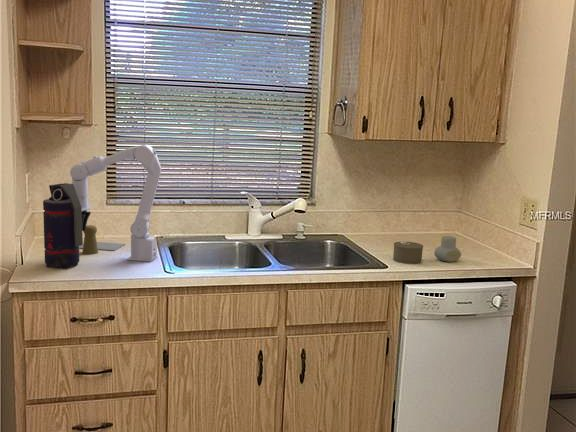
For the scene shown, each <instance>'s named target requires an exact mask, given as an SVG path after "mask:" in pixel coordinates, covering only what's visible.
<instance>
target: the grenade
mask: <svg viewBox="0 0 576 432" xmlns="http://www.w3.org/2000/svg"><path fill="white" fill-rule="evenodd" d="M48 187H49V192H50V197H49V198H47V199H44V200H42V208H43V211H42V212H43V244H44V246H43V247H44V249H45V250H44V264H45V266H46V268H49V267H58V268H59V269H60V270H67V269H68V267H70V266H74V265H76V266H77V265H78V264H79V263H80V249H79V246H81V245H83V244H84V237H83V231H82V208H81V204H80V202H79V199H78V197H77V194H76V190H75V187H74V184H72V183H69V182H64V183H57V184H49V185H48Z"/></svg>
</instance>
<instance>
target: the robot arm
mask: <svg viewBox="0 0 576 432" xmlns="http://www.w3.org/2000/svg"><path fill="white" fill-rule="evenodd" d="M124 160H131V161H133V160H136V161H137V162H138V163H140V164H141V165H142V166H143V167H144V168H145V170H146V171H147V175H146V179H145V183H144V187H143V190H142V194H141V198H140V201H139V206H138V210H137V213H136V216H135V218H134V219H135V220H134V222H133V223H132V224H131V226H130V232H131V234H130V256H129V257H128V258H127V261H138V262H139V261H140V262H152V261H154V260H155V259H156V258H158V256H157V252H158V251H157V249H158V248H157V243H158V242H157V241H158V240H157V237H154V236H151V234H150V232H149V230H150V229H151V222H150V218H151V211H152V208H153V204H154V201H155V196H156V194H157V193H156V192H157V189H158V184H159V181H160V177H161V173H162V165H161V163H160V160H159V157H158V155H157V152H156V150H155V149H154V148H153V146H151V145H150V144H141V145H139V146H138V145H137V146H132V147H128V148H126V149H123V150H121V151H117V152H115V153H113V154H111V155H109V156H106V157H103V156H102V155H99V156H97V155H95V156H94V155H93V156H92V158H91V159H88V160H86V161H84V160H83V161H80V163H79V164H75V165H73V166H72V167H70V171H69V175H70V177H71V184H74V187H75V190H76V194H77V197H78V199H79V202H80V204H81V208H82V232H83V231H85V229H86V226H87V224H88V221H89V217H90V216H91V210H92V209H91V208H92V207H91V204H89V187H88V186H89V185H88V177H92V176H94V175H97V174H100V173H102V172H104V171H107V169H108V166H111V165H113V164H115V163H116V164H117V163H119V162H122V161H124Z"/></svg>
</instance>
